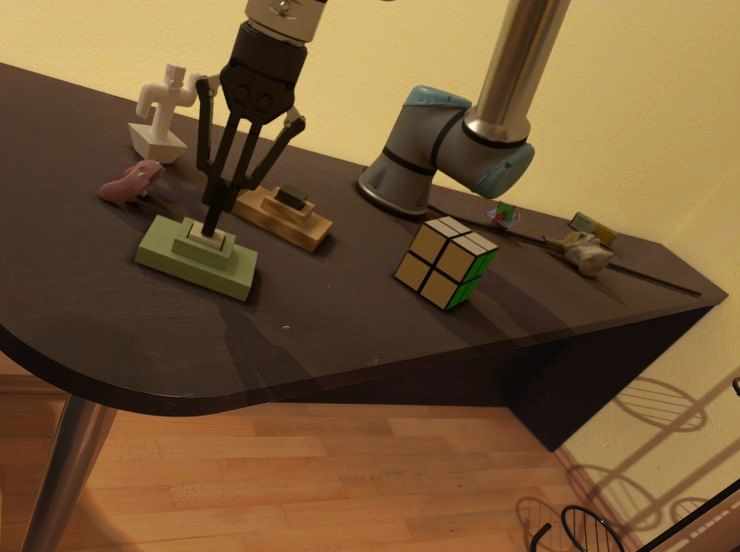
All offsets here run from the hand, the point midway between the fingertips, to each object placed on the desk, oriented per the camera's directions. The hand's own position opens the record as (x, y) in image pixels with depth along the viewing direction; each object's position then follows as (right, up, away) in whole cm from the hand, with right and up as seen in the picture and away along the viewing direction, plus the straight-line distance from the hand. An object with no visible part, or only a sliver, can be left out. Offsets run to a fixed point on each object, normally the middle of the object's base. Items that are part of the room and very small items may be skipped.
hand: (208, 231), depth 78 cm
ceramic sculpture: (+75, +5, +66) cm, 101 cm away
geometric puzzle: (+58, +12, +65) cm, 88 cm away
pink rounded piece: (-12, +7, +11) cm, 18 cm away
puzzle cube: (+33, -5, +25) cm, 42 cm away
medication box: (+93, +16, +95) cm, 134 cm away
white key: (-1, -2, +1) cm, 2 cm away
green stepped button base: (-2, -4, +3) cm, 5 cm away
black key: (+11, +8, +21) cm, 25 cm away
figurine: (-12, +17, +26) cm, 33 cm away
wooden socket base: (+9, +6, +23) cm, 26 cm away
